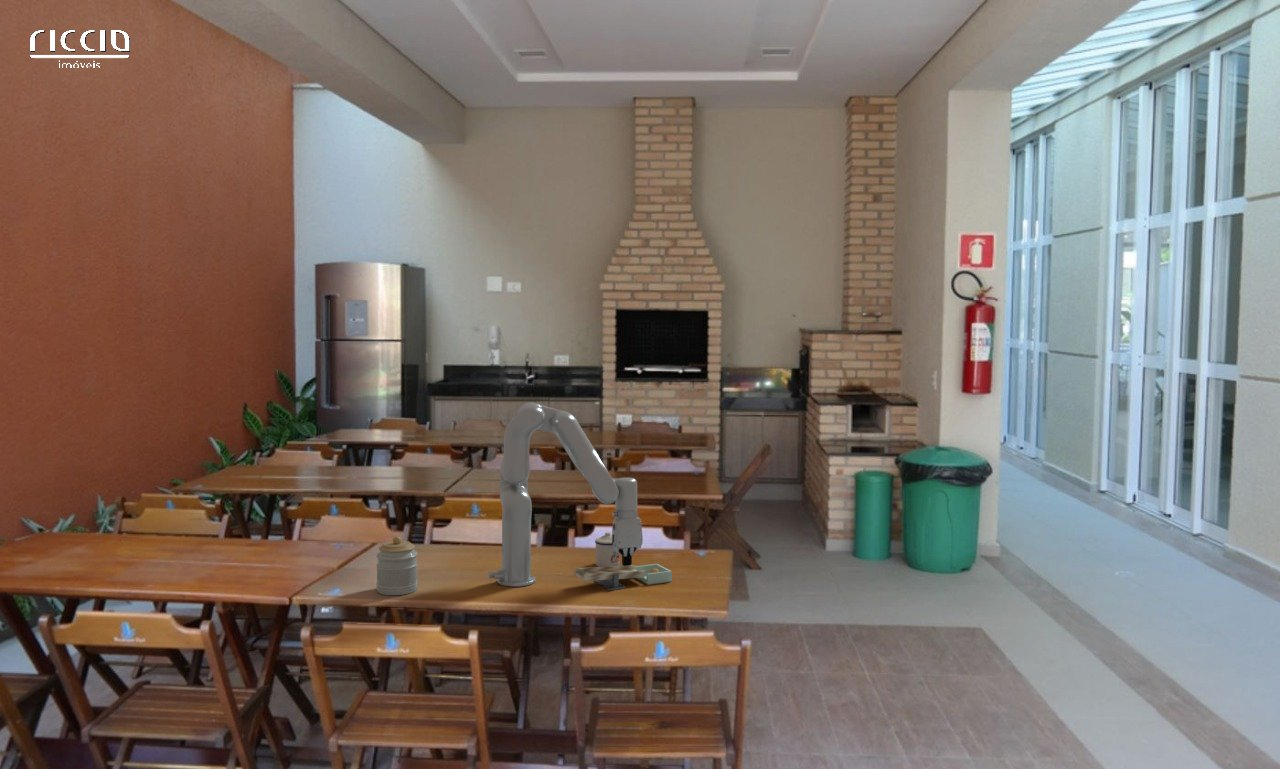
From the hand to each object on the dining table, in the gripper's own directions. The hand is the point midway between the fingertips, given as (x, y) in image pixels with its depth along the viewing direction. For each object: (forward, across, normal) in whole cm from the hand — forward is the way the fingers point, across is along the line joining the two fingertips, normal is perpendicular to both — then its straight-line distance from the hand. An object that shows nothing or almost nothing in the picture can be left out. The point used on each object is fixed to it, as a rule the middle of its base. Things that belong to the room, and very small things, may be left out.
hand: (626, 566), depth 324 cm
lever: (0, -10, -4) cm, 11 cm away
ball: (+2, +7, -7) cm, 10 cm away
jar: (+2, -75, +16) cm, 77 cm away
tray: (+4, +6, -7) cm, 10 cm away
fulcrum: (+3, -10, -7) cm, 12 cm away
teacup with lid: (+4, +1, +17) cm, 17 cm away
